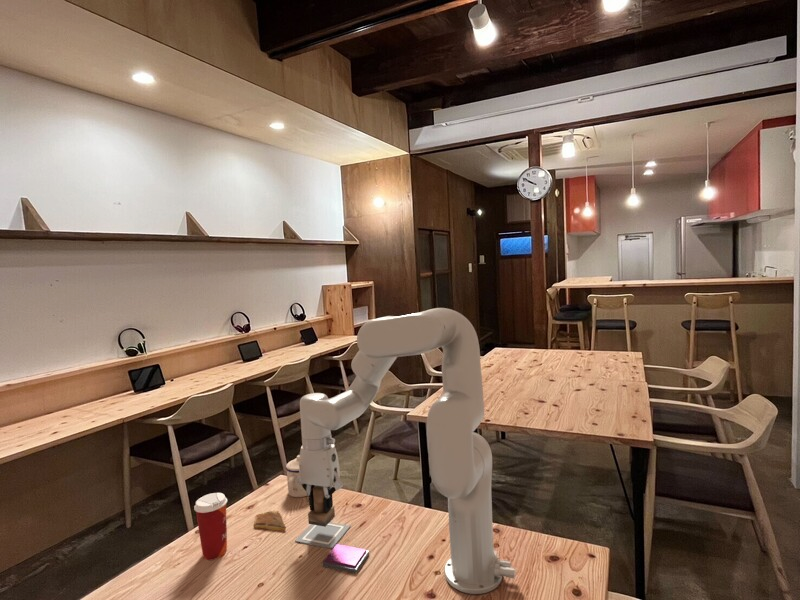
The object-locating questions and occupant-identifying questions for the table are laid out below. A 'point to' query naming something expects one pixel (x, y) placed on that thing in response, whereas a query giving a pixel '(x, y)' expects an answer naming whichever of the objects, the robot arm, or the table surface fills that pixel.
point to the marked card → (323, 535)
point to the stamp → (320, 509)
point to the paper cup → (212, 524)
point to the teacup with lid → (294, 479)
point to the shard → (269, 521)
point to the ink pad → (345, 558)
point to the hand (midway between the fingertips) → (321, 508)
